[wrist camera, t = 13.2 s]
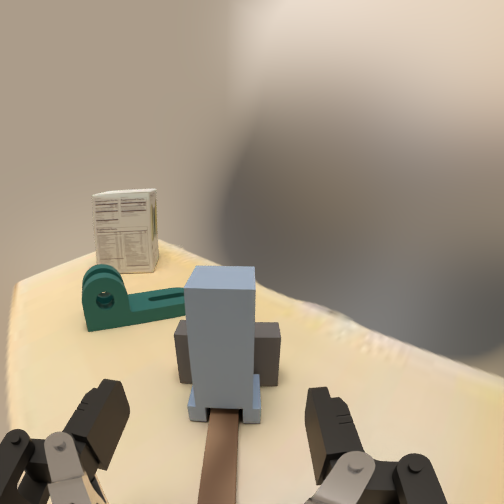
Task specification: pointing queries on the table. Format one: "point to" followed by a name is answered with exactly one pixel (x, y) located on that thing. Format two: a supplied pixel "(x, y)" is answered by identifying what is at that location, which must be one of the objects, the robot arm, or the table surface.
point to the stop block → (264, 352)
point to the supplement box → (126, 230)
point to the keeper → (222, 341)
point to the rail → (220, 458)
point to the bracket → (124, 301)
